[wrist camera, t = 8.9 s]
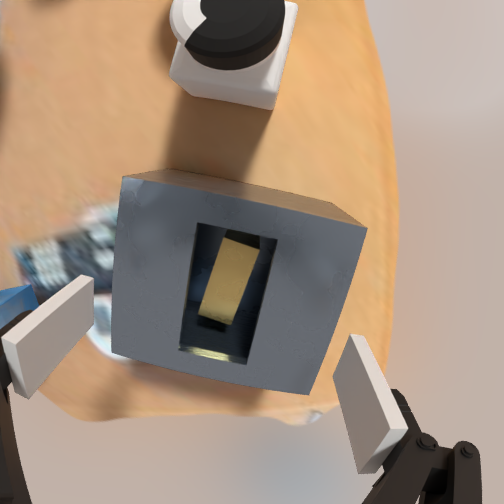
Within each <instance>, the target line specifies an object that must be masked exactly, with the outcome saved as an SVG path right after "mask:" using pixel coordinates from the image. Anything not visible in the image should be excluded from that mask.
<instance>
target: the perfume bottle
mask: <svg viewBox="0 0 504 504" xmlns="http://www.w3.org/2000/svg"><path fill="white" fill-rule="evenodd" d="M38 307H39V304H38V302H37V299H36V297H35V294H34V291H33V288H32V286H31V284H30V285H25V286H20V287H15V288H10V289H5V290H1V291H0V329H1V328H2V327H3V326H5V325H6V324H8V323H9V322H10V321H11V320H12V319H13V320H14V318H15V317H16V316H17V315H19V314H20V313H22V312H25V311H27V310H33V311H34V310H36V309H37V308H38Z"/></svg>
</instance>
